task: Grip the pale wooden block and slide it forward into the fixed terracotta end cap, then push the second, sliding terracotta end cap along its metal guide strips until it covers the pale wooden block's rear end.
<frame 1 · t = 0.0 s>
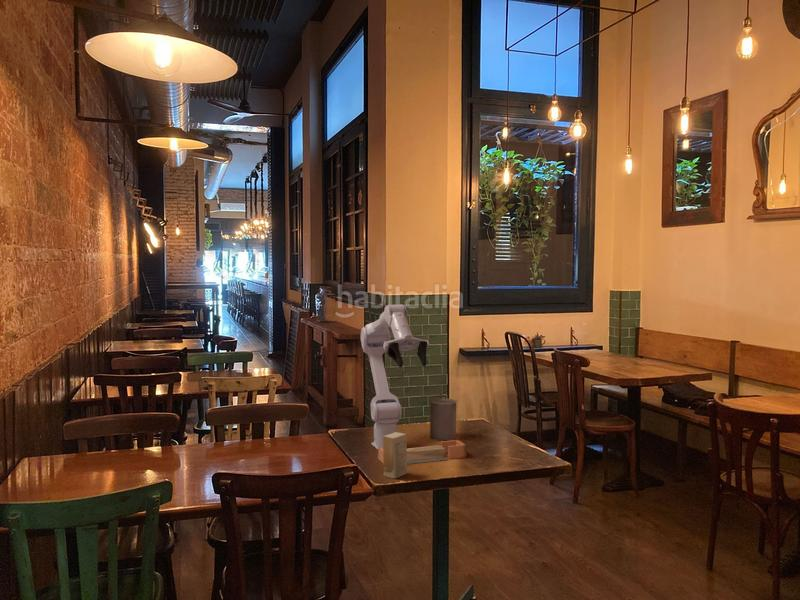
hand: (413, 364, 190), 32 cm above the table, tool tilted 50°, fingers open, 7 cm apart
skincare box: (395, 476, 185), on the table
cap sliding: (390, 455, 200), point 2 cm above the table, slide at 0.0 cm
pillar candle: (443, 438, 230), on the table
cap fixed: (452, 455, 207), on the table
guide rails: (412, 459, 202), on the table
pale wooden block: (422, 459, 203), on the table
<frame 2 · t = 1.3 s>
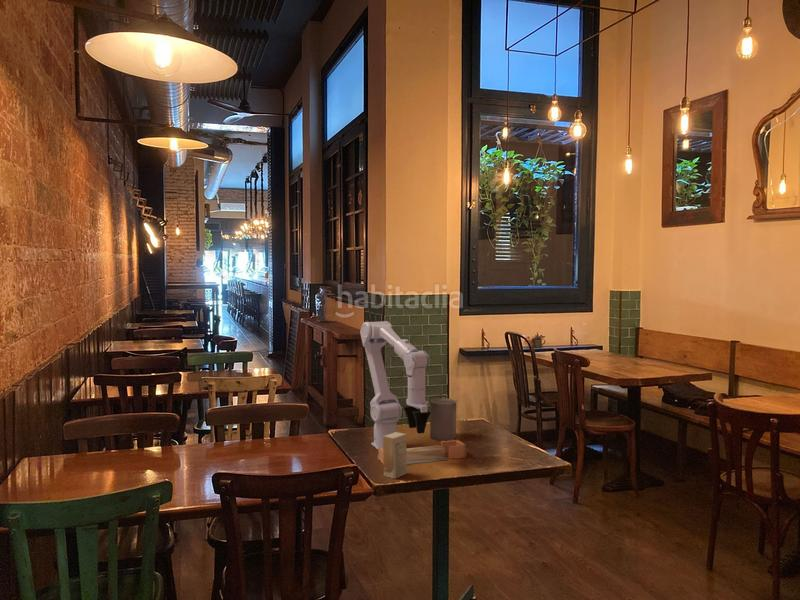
hand: (416, 430, 202), 9 cm above the table, tool pointing down, fingers open, 7 cm apart
nothing on the table moved.
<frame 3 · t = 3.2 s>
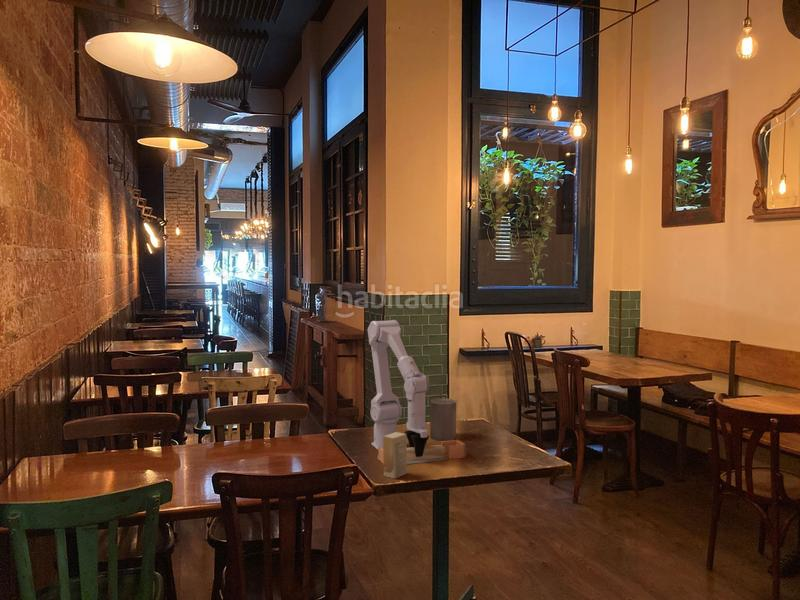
hand: (416, 454, 202), 1 cm above the table, tool pointing down, fingers closed on pale wooden block, 4 cm apart
pale wooden block: (422, 458, 203), on the table, touching gripper
everything else where it was.
when the fingers open (1 cm above the table, at t = 5.1 s): pale wooden block stays where it is, on the table.
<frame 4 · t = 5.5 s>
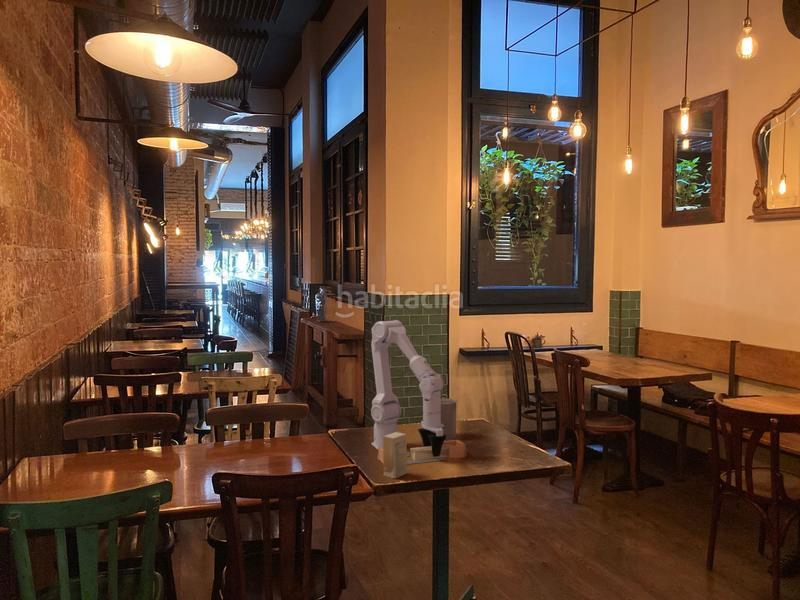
hand: (431, 453, 204), 1 cm above the table, tool pointing down, fingers open, 7 cm apart
pale wooden block: (432, 458, 204), on the table
everything else where it was.
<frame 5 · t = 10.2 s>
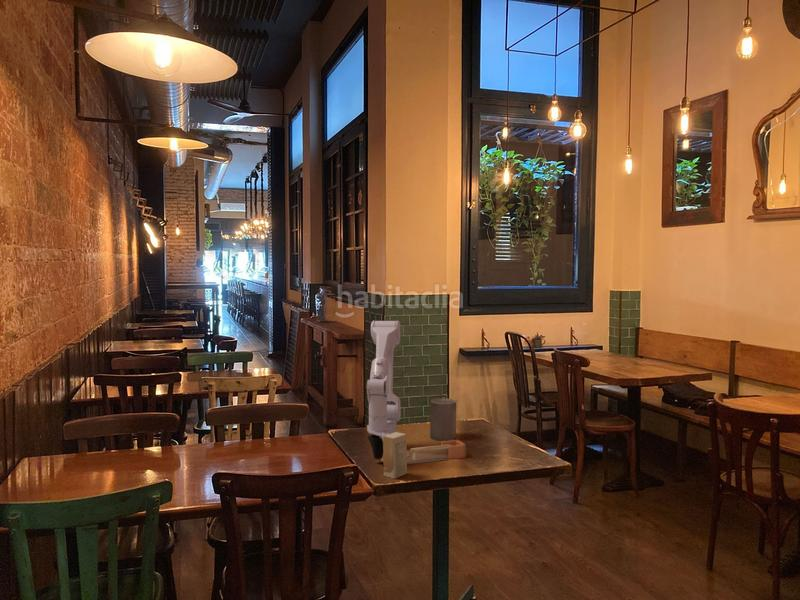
hand: (378, 458, 198), 1 cm above the table, tool pointing down, fingers closed
cap sliding: (392, 455, 200), point 2 cm above the table, slide at 0.7 cm, touching gripper
everything else where it was.
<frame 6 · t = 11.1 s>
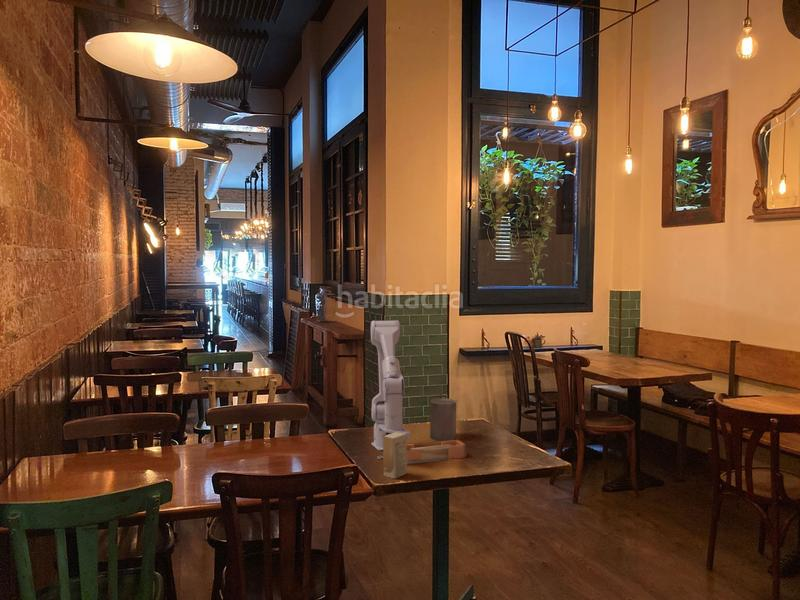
hand: (393, 456, 200), 1 cm above the table, tool pointing down, fingers closed
cap sliding: (408, 453, 202), point 2 cm above the table, slide at 6.2 cm, touching gripper
everything else where it was.
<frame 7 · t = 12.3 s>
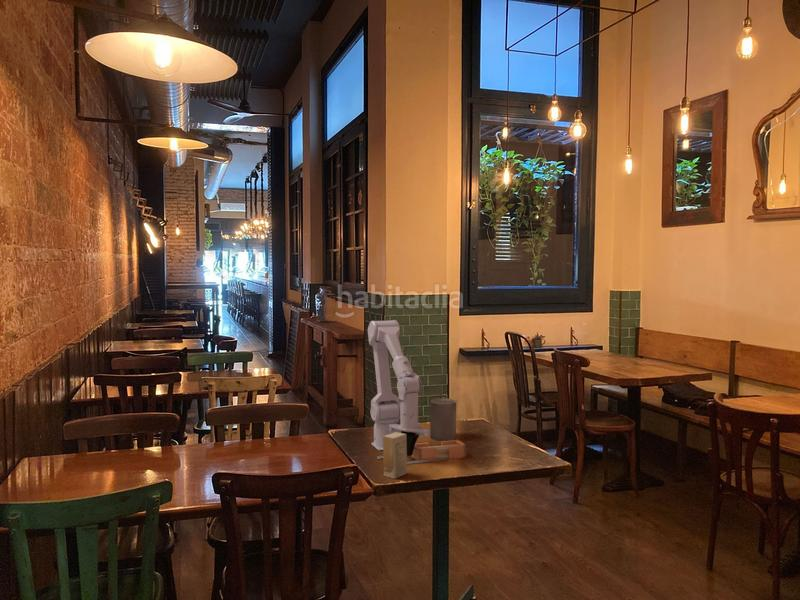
hand: (409, 455, 202), 1 cm above the table, tool pointing down, fingers closed
cap sliding: (423, 452, 203), point 2 cm above the table, slide at 11.4 cm, touching gripper
pale wooden block: (438, 458, 204), on the table
everything else where it was.
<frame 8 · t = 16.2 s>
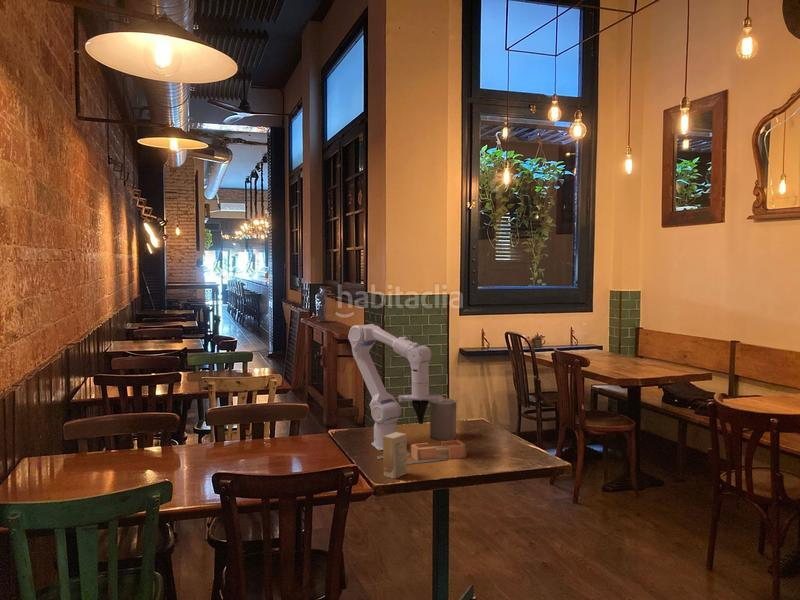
hand: (420, 423, 208), 10 cm above the table, tool pointing down, fingers closed
cap sliding: (423, 452, 203), point 2 cm above the table, slide at 11.2 cm
everything else where it was.
at the end: pale wooden block 0.6 cm from the target spot, on the table; cap sliding slide at 11.2 cm; the gripper is holding nothing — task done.
